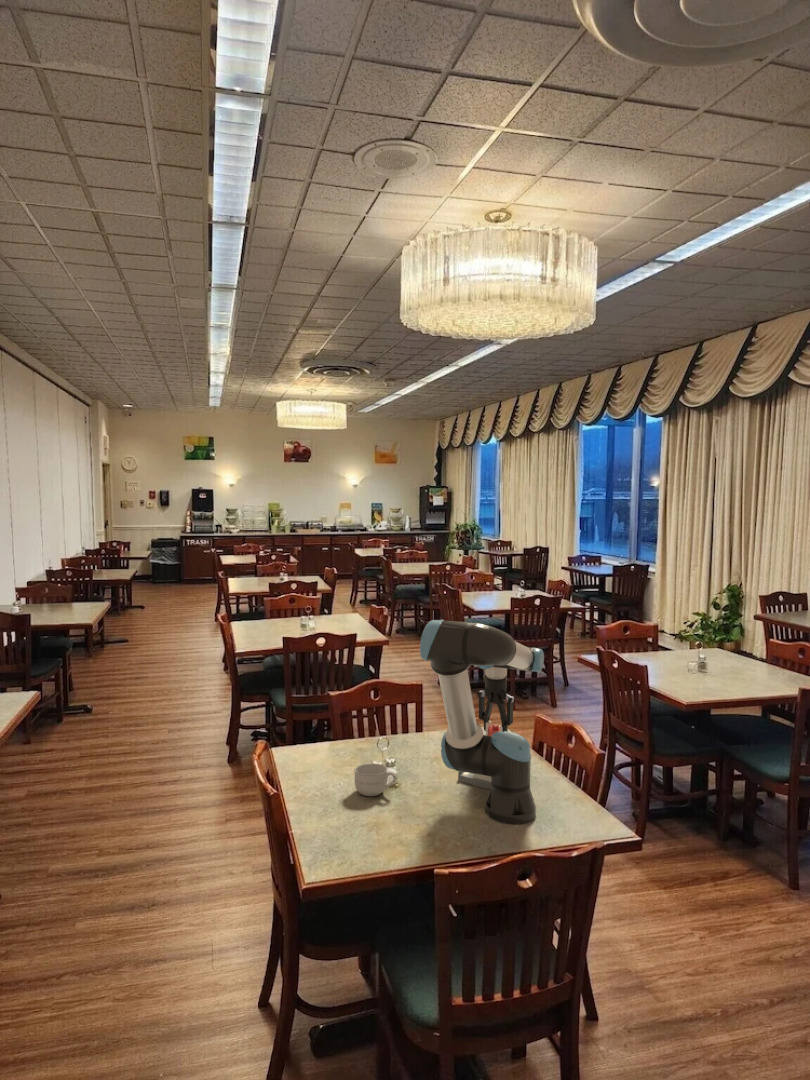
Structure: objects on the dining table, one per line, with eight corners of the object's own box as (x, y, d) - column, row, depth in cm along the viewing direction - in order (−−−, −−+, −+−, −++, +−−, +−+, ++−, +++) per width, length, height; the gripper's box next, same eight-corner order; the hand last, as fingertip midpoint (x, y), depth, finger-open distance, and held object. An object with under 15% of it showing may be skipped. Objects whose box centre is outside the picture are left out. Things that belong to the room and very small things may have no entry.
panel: (531, 765, 233) (531, 757, 233) (498, 791, 212) (498, 782, 212) (493, 755, 242) (493, 748, 242) (458, 780, 221) (458, 771, 220)
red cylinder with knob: (499, 751, 226) (499, 728, 225) (486, 749, 228) (486, 726, 228) (504, 747, 230) (504, 724, 230) (491, 744, 233) (491, 722, 232)
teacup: (347, 795, 209) (347, 771, 209) (365, 782, 219) (365, 759, 218) (385, 804, 203) (385, 779, 202) (402, 791, 212) (402, 767, 212)
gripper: (524, 677, 226) (523, 743, 227) (478, 670, 236) (478, 733, 237) (514, 682, 220) (513, 750, 221) (468, 674, 230) (467, 739, 231)
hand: (495, 741), depth 229 cm, fingers closed on red cylinder with knob, 5 cm apart
